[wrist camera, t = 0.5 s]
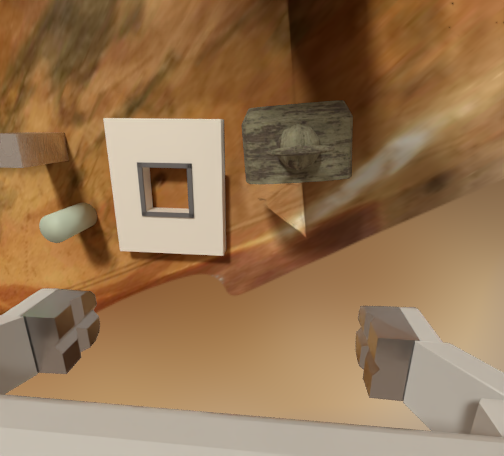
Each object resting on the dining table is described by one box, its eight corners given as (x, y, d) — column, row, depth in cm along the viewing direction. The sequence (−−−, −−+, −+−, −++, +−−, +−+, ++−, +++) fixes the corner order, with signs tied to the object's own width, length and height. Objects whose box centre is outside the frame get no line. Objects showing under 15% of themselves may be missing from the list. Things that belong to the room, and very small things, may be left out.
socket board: (112, 118, 56) (102, 118, 53) (224, 119, 54) (220, 119, 51) (127, 245, 63) (119, 251, 60) (226, 249, 62) (223, 256, 58)
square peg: (38, 132, 58) (-15, 133, 48) (64, 132, 58) (15, 133, 47) (44, 160, 60) (-7, 167, 49) (69, 160, 59) (22, 167, 49)
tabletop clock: (253, 168, 56) (231, 198, 33) (249, 114, 54) (222, 104, 30) (336, 162, 55) (377, 190, 31) (337, 106, 52) (381, 90, 28)
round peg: (70, 202, 62) (36, 214, 53) (95, 203, 61) (64, 215, 53) (75, 226, 63) (42, 242, 55) (98, 227, 63) (69, 243, 54)
